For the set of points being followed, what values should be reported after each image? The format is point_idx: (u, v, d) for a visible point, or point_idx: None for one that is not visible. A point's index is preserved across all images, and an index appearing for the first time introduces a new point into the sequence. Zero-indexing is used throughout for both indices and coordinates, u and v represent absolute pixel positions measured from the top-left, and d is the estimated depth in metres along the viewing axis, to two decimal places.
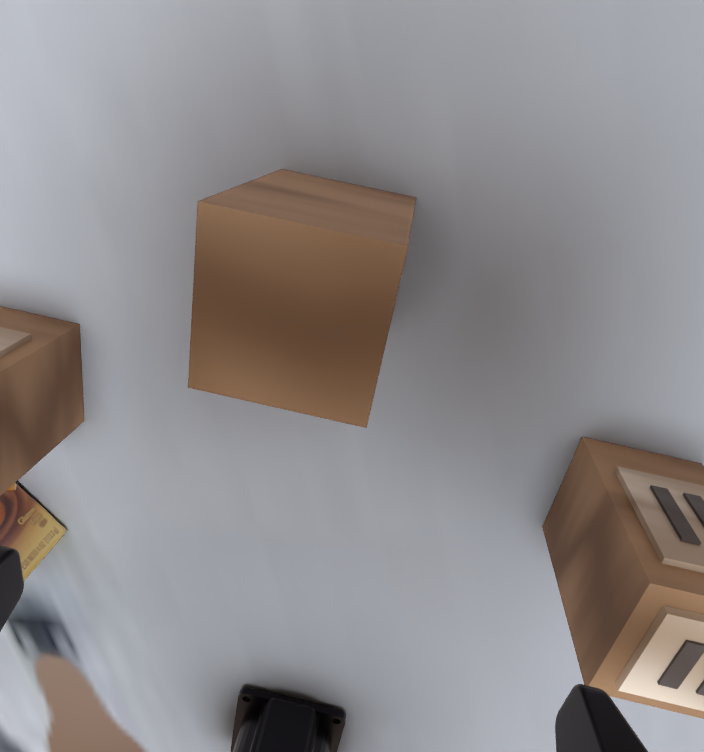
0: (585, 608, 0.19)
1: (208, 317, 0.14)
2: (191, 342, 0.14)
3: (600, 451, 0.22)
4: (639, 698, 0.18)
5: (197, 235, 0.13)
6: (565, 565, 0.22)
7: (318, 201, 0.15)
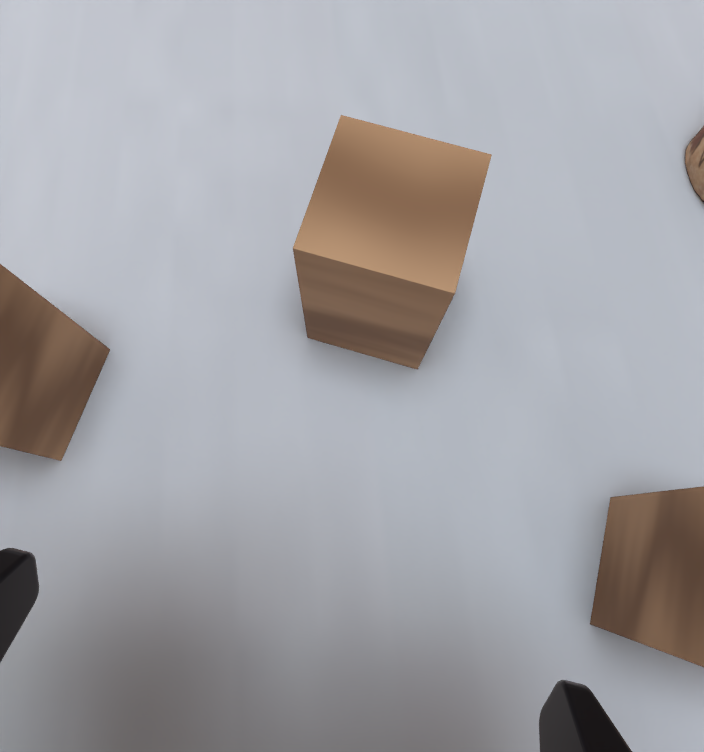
0: (686, 607, 0.16)
1: (328, 191, 0.17)
2: (307, 209, 0.17)
3: None
4: None
5: (335, 134, 0.17)
6: (639, 611, 0.18)
7: None
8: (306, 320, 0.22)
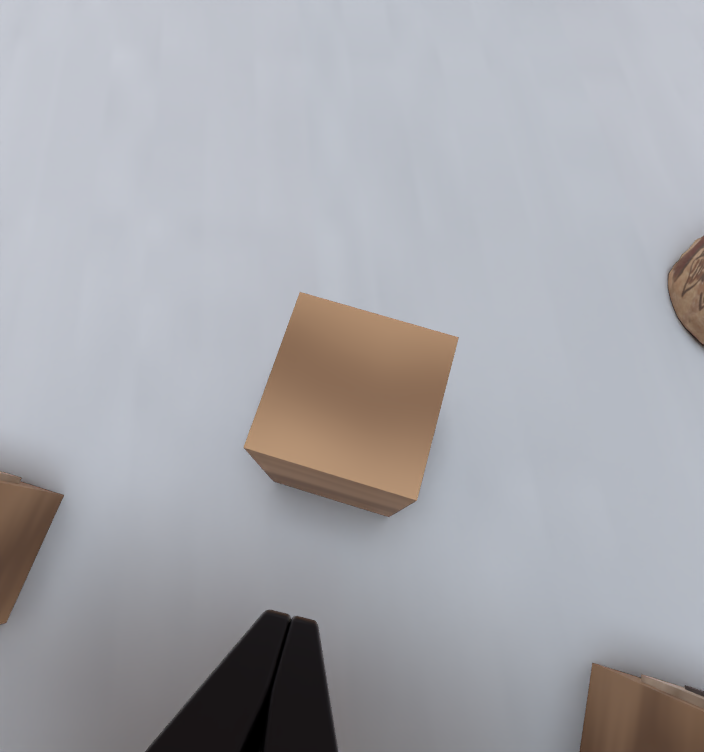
0: None
1: (283, 380, 0.16)
2: (261, 401, 0.16)
3: (617, 671, 0.20)
4: None
5: (293, 314, 0.16)
6: None
7: None
8: (269, 475, 0.21)
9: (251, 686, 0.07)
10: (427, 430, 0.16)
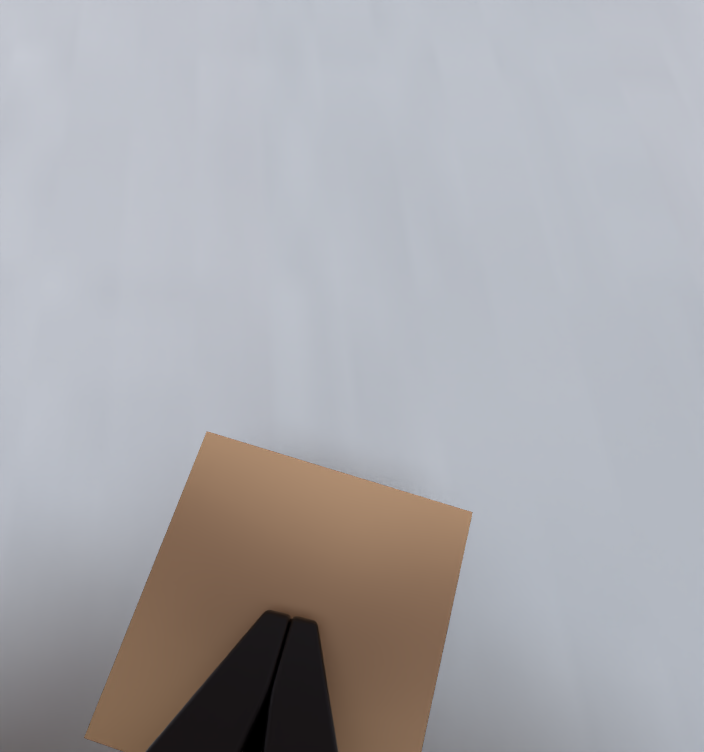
0: None
1: (167, 599, 0.09)
2: (124, 642, 0.09)
3: None
4: None
5: (192, 473, 0.10)
6: None
7: None
8: None
9: (251, 686, 0.07)
10: (420, 694, 0.09)
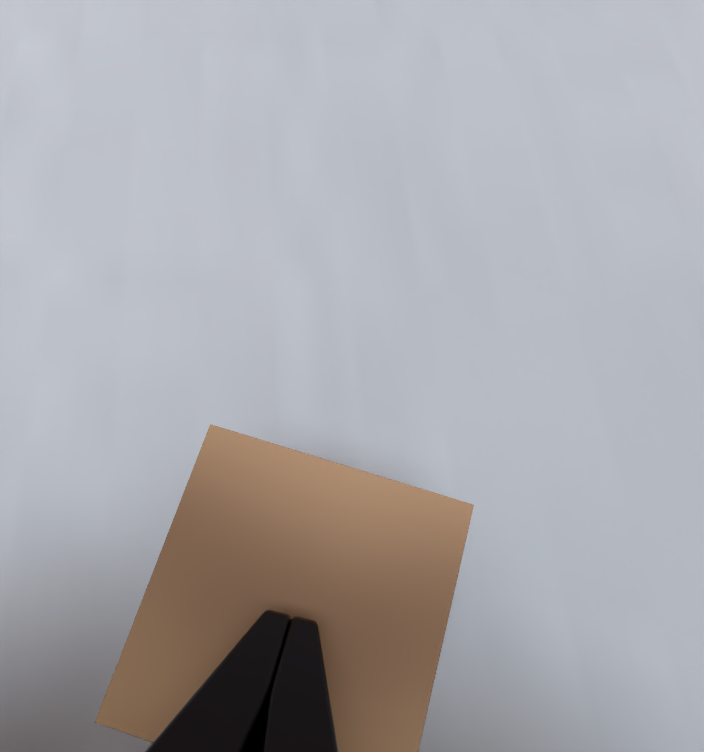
0: None
1: (173, 589, 0.09)
2: (132, 631, 0.09)
3: None
4: None
5: (196, 465, 0.10)
6: None
7: None
8: None
9: (251, 686, 0.07)
10: (420, 683, 0.09)
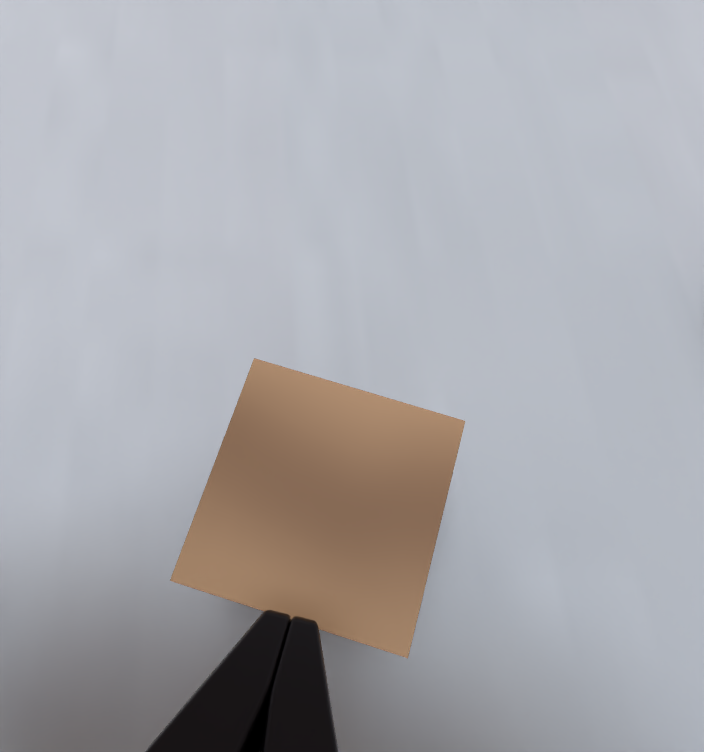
0: None
1: (228, 483, 0.12)
2: (196, 514, 0.12)
3: None
4: None
5: (244, 390, 0.12)
6: None
7: None
8: None
9: (251, 686, 0.07)
10: (422, 554, 0.11)
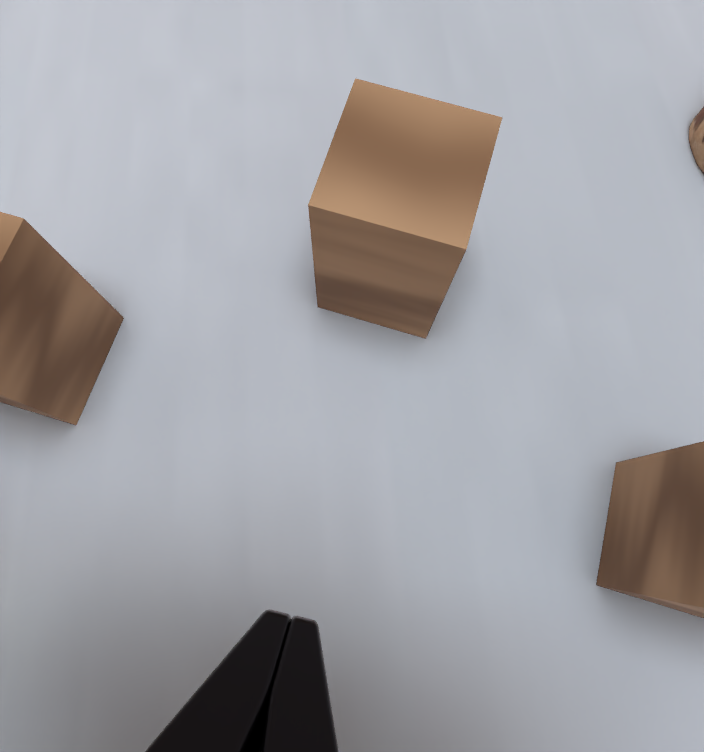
0: (692, 555, 0.16)
1: (342, 151, 0.17)
2: (322, 168, 0.17)
3: None
4: None
5: (349, 96, 0.18)
6: (645, 565, 0.19)
7: None
8: (317, 287, 0.22)
9: (251, 686, 0.07)
10: (474, 193, 0.17)
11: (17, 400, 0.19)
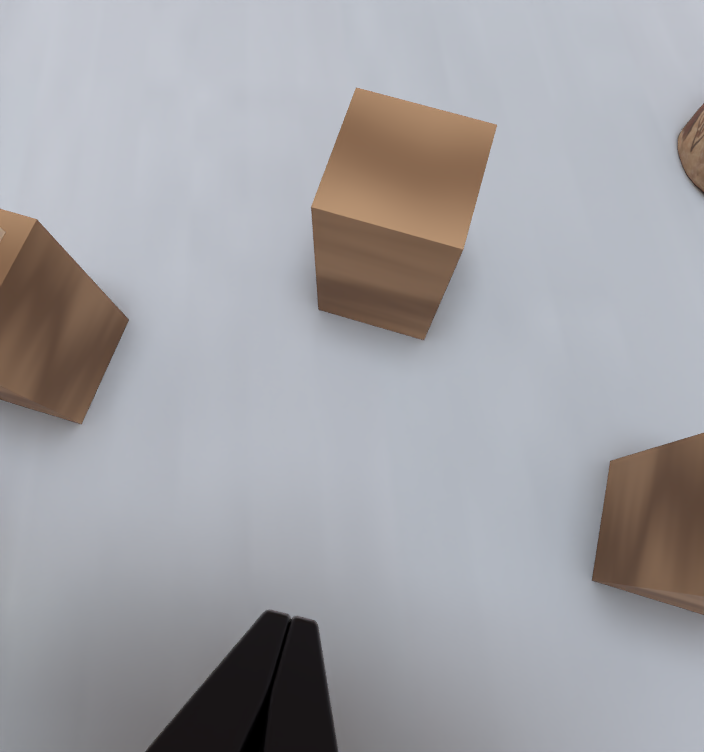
0: (684, 545, 0.17)
1: (344, 156, 0.18)
2: (325, 172, 0.18)
3: None
4: None
5: (350, 104, 0.19)
6: (639, 558, 0.19)
7: None
8: (318, 289, 0.23)
9: (251, 686, 0.07)
10: (471, 196, 0.18)
11: (26, 396, 0.19)
